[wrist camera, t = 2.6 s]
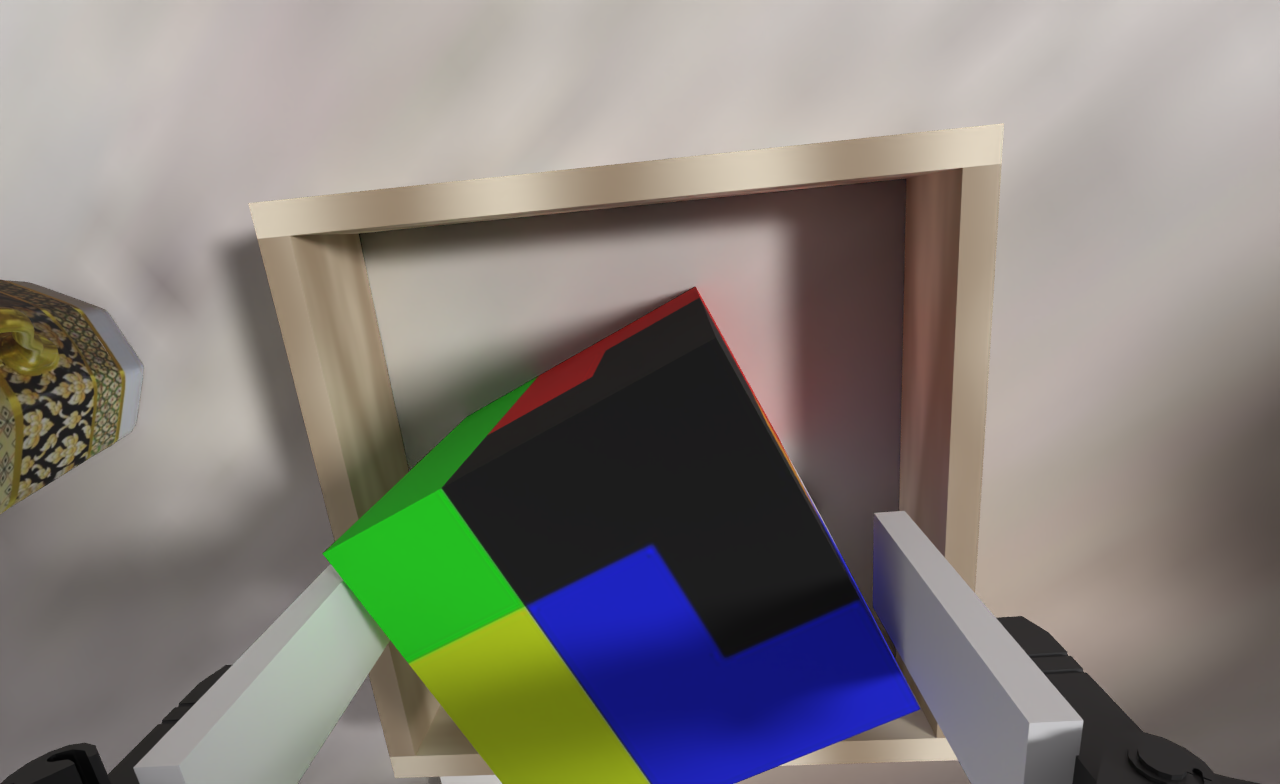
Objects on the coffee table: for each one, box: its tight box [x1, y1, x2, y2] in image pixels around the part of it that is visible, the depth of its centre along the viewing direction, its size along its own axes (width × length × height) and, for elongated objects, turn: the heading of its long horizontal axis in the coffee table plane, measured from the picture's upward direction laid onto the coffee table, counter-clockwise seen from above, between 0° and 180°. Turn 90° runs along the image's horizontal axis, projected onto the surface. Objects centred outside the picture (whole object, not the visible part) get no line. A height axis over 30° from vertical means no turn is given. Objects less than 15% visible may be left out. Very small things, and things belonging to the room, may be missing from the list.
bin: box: [248, 123, 1004, 778], centre depth 21 cm, size 21×21×4 cm
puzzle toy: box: [322, 287, 920, 784], centre depth 18 cm, size 10×10×10 cm
